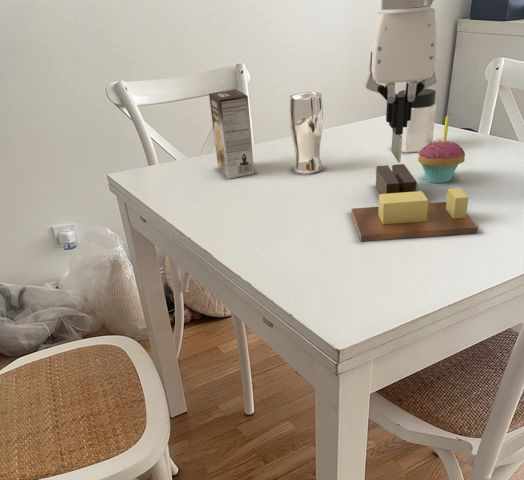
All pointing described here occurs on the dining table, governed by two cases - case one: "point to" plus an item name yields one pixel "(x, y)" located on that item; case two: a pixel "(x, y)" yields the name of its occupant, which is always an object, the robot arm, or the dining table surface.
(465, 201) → the butter slice
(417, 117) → the jar
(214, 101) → the coffee box
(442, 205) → the board
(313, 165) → the beer glass
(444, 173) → the cupcake
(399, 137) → the knife
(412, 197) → the butter
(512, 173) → the dining table surface
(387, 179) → the knife block
